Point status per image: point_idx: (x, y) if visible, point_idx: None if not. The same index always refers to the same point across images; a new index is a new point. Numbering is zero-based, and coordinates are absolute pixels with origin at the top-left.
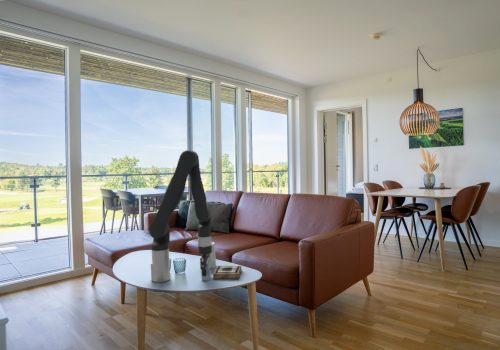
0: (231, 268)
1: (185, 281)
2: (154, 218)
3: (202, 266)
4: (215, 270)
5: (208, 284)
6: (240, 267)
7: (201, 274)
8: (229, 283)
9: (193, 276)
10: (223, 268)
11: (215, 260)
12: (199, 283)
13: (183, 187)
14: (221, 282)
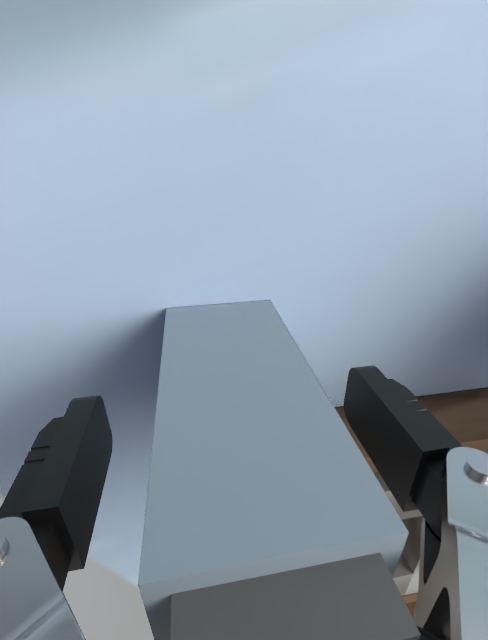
0: (410, 555)
1: (61, 2)
2: None
3: (6, 618)
4: (367, 461)
5: (41, 428)
6: (412, 601)
7: (162, 356)
8: (125, 565)
9: (345, 112)
10: (417, 512)
11: None
12: (39, 315)
13: None
14: (138, 511)
